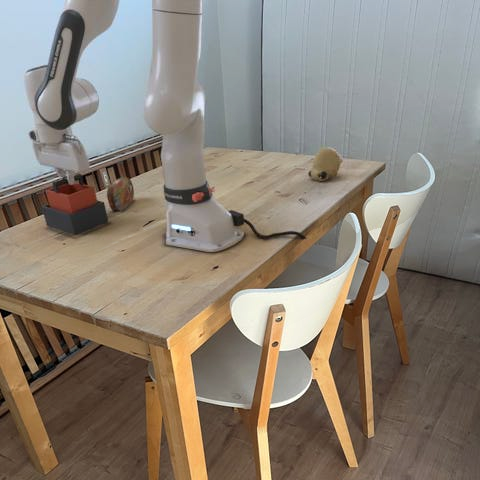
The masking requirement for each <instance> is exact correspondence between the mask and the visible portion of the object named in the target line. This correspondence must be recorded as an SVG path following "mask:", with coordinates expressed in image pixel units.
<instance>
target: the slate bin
mask: <svg viewBox="0 0 480 480" xmlns="http://www.w3.org/2000/svg"><path fill="white" fill-rule="evenodd" d="M97 202H98V204H95V205H93V206H90V207H88V208H85V209H82V210H80V211H77V212H75V213H72V214H69V213H65V212H62V211H59V210H56V209H52V208H50V205H49V203H47V204H45V205H42V206H41V210H42V213H43V217H44V221H45V223H46V226H47V227H49V228H52V229H55V230H58V231H61V232H64V233H67V234H69V235H71V236H72V235H73V236H77V235H80V234H82V233H85V232H87V231H89V230H92V229H94V228H96V227H99V226H101V225H104V224H107V223H108V222H109V217H108V213H107V209H106V205H105V202H104V201H101V200H98V199H97Z"/></svg>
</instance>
